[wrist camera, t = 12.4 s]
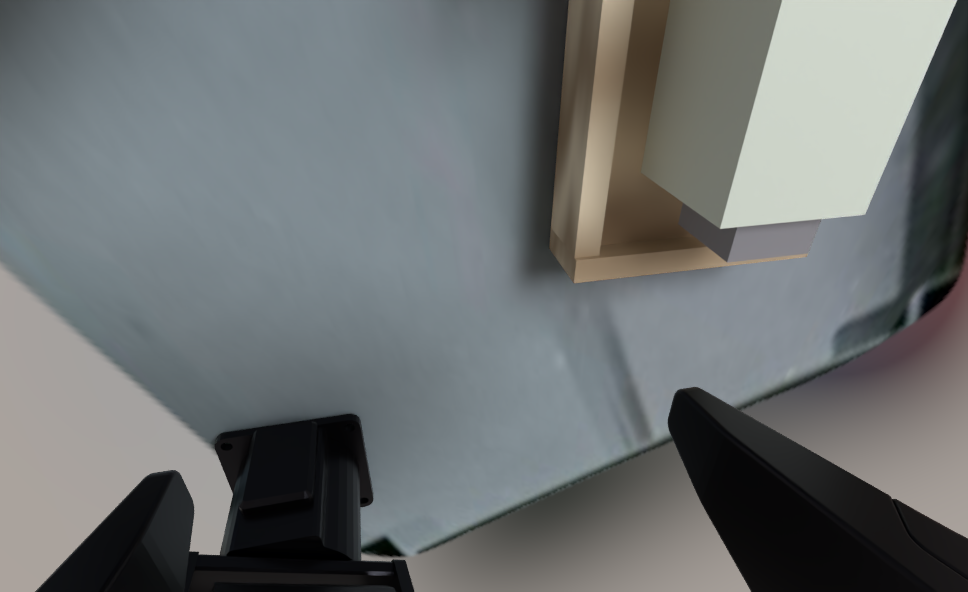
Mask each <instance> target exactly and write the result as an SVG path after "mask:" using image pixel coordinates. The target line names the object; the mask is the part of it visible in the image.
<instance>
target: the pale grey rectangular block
mask: <svg viewBox="0 0 968 592" xmlns="http://www.w3.org/2000/svg"><path fill="white" fill-rule="evenodd" d="M956 1H957V0H670V5H669V11H668V16H667V22H666V28H665V34H664V40H663V46H662V51H661V57H660V63H659V69H658V75H657V81H656V86H655V92H654V98H653V104H652V110H651V116H650V122H649V127H648V133H647V139H646V145H645V151H644V157H643V162H642V168H641V173H642V174H644V175H645V176H646V177H648V178H649V179H651V180H652V181H653V182H655V183H656V184H658V185H659V186H660V187H662V188H663V189H665V190H666V191H667V192H669V193H670V194H672V195H673V196H675V197H676V198H677V199H679V200H680V201H682V202H683V204H682V208H681V213H680V217H679V222H678V224H679V225H680V226H681V227H683V228H684V229H685V230H686V231H688V232H689V233H690V234H691V235H693V236H694V237H695V238H697V239H698V240H699V241H700V242H702V243H703V244H704V245H705V246H707V247H708V248H709V249H711V250H712V251H713V252H714V253H716V254H717V255H718V256H719V257H721V258H722V259H723V260H725V261H726V262H727V263H728V262H737V261H746V260H755V259H764V258H773V257H782V256H791V255H800V254H809V251H810V248H811V246H812V243H813V240H814V238H815V235H816V233H817V230H818V227H819V225H820V222H821V220H822V219H826V218H837V217H847V216H857V215H865V213H866V211H867V208H868V206H869V204H870V201H871V199H872V197H873V194H874V192H875V190H876V187H877V185H878V183H879V180H880V178H881V176H882V173H883V171H884V169H885V166H886V164H887V162H888V159H889V157H890V155H891V152H892V150H893V148H894V145H895V143H896V141H897V138H898V136H899V134H900V131H901V129H902V127H903V124H904V122H905V120H906V117H907V115H908V113H909V110H910V108H911V106H912V103H913V101H914V99H915V96H916V94H917V92H918V90H919V87H920V85H921V83H922V80H923V78H924V76H925V73H926V71H927V69H928V66H929V64H930V62H931V59H932V57H933V55H934V52H935V50H936V48H937V45H938V43H939V41H940V38H941V36H942V34H943V31H944V29H945V27H946V24H947V22H948V20H949V17H950V15H951V13H952V10H953V8H954V6H955V3H956Z"/></svg>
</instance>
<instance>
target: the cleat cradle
mask: <svg viewBox="0 0 968 592" xmlns="http://www.w3.org/2000/svg"><path fill="white" fill-rule="evenodd" d="M669 5H670V0H569V5H568V18H567V30H566V43H565V56H564V68H563V81H562V94H561V106H560V119H559V132H558V144H557V157H556V170H555V182H554V195H553V208H552V220H551V233H550V246H549V249H550V250H551V252H552V253H553V254H554V256H555V257H556V259H557V260H558V262H559V263H560V264H561V266H562V267H563V269H564V270H565V271H566V273H567V274H568V276H569V277H570V279H571V280H572V281H573V283H581V282H590V281H599V280H608V279H616V278H625V277H634V276H643V275H652V274H660V273H669V272H678V271H687V270H696V269H704V268H713V267H722V266H731V265H740V264H749V263H757V262H766V261H775V260H784V259H793V258H801V257H807V255H808V254H800V255H791V256H782V257H773V258H764V259H755V260H746V261H737V262H728V263H727V262H726V261H725V260H723V259H722V258H721V257H719V256H718V255H717V254H716V253H714V252H713V251H712V250H711V249H709V248H708V247H707V246H705V245H704V244H703V243H702V242H700V241H699V240H698V239H697V238H695V237H694V236H693V235H691V234H690V233H689V232H688V231H686V230H685V229H684V228H683V227H681V226H680V225H679V224H678V222H679V217H680V213H681V208H682V204H683V202H682V201H680V200H679V199H677V198H676V197H675V196H673V195H672V194H670V193H669V192H667V191H666V190H665V189H663V188H662V187H660V186H659V185H658V184H656V183H655V182H653V181H652V180H651V179H649V178H648V177H646V176H645V175H644V174H642V173H641V168H642V162H643V157H644V151H645V145H646V139H647V133H648V127H649V122H650V116H651V110H652V104H653V98H654V92H655V86H656V81H657V75H658V69H659V63H660V57H661V51H662V46H663V40H664V34H665V28H666V22H667V16H668V11H669Z"/></svg>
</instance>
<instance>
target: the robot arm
mask: <svg viewBox="0 0 968 592" xmlns="http://www.w3.org/2000/svg"><path fill="white" fill-rule="evenodd" d="M347 424H353V425H347ZM668 428H669V431H670V434H671V436H672V438H673V441H674V443H675V445H676V447H677V450H678V452H679V454H680V456H681V459H682V461H683V463H684V466H685V468H686V470H687V472H688V475H689V477H690V479H691V482H692V484H693V486H694V488H695V490H696V493H697V495H698V497H699V499H700V501H701V503H702V505H703V507H704V509H705V510H706V512H707V514H708V516H709V518H710V519H711V521H712V523H713V525H714V526H715V528H716V530H717V532H718V534H719V535H720V537H721V539H722V541H723V542H724V544H725V546H726V548H727V550H728V551H729V553H730V555H731V557H732V558H733V560H734V562H735V563H736V566H737V567H738V569H739V571H740V573H741V574H742V576H743V578H744V580H745V581H746V583H747V585H748V587H749V589H750V590H751V592H968V538H966V537H964V536H962V535H960V534H958V533H956V532H954V531H952V530H951V529H949V528H947V527H945V526H943V525H942V524H940V523H938V522H936V521H934V520H932V519H930V518H929V517H927V516H925V515H923V514H921V513H920V512H918V511H916V510H914V509H913V508H911V507H909V506H907V505H906V504H904V503H902V502H900V501H898V500H897V499H892V498H891V497H890V496H889V495H888V494H886V493H884V492H882V491H880V490H879V489H877V488H875V487H874V486H872V485H870V484H868V483H866V482H865V481H863V480H861V479H859V478H858V477H856V476H854V475H852V474H851V473H849V472H847V471H845V470H844V469H842V468H840V467H838V466H837V465H835V464H833V463H831V462H829V461H828V460H826V459H824V458H822V457H821V456H819V455H817V454H815V453H814V452H811V451H810V450H808V449H807V448H805V447H803V446H801V445H799V444H798V443H796V442H794V441H792V440H791V439H789V438H787V437H785V436H784V435H782V434H780V433H778V432H776V431H775V430H773V429H771V428H769V427H768V426H766V425H764V424H762V423H761V422H759V421H757V420H755V419H754V418H752V417H750V416H748V415H746V414H745V413H743V412H741V411H740V410H738V409H736V408H734V407H732V406H731V405H729V404H727V403H725V402H724V401H722V400H720V399H718V398H717V397H715V396H713V395H711V394H710V393H708V392H706V391H704V390H703V389H700V388H698V387H691V388H685V389H679V390H677V392H676V393H675V395H674V398H673V402H672V406H671V409H670V413H669V417H668ZM226 443H230V444H226ZM215 450H216V452H217V455H218V457H219V460H220V462H221V465H222V467H223V470H224V472H225V475H226V477H227V480H228V482H229V485H230V487H231V490H232V492H233V498H232V502H231V506H230V511H229V515H228V520H227V524H226V529H225V534H224V538H223V542H222V547H221V551H220V555H199V552H189V550H190V542H191V534H192V526H193V519H194V504H193V500H192V498H191V496H190V493H189V491H188V489H187V487H186V485H185V483H184V481H183V479H182V477H181V475H180V473H179V472H177V471H176V470H170V471H163V472H157V473H152V474H150V475H148V476H147V477H145V478H144V479H143V480H142V481H141V482H140V483H139V484H138V485H137V486H136V487H135V488H134V489H133V490H132V491H131V492H130V494H129V495H128V496H127V497H126V498H125V499H124V500H123V501H122V502H121V503H120V504H119V505H118V506H117V507H116V508H115V509H114V510H113V511H112V512H111V513H110V514H109V515H108V516H107V517H106V519H105V520H104V521H103V522H102V523H101V524H100V525H99V526H98V527H97V528H96V529H95V530H94V531H93V532H92V533H91V534H90V535H89V536H88V537H87V538H86V539H85V540H84V541H83V543H81V545H80V546H79V547H78V548H77V549H76V550H75V551H74V552H73V553H72V554H71V555H70V556H69V557H68V558H67V559H66V560H65V561H64V562H63V563H62V564H61V565H60V566H59V567H58V568H57V569H56V571H55V572H54V573H53V574H52V575H51V576H50V577H49V578H48V579H47V580H46V581H45V582H44V583H43V584H42V585H41V586H40V587H39V588H38V589H37V590H36V591H35V592H414V589H413V585H412V582H411V578H410V575H409V571H408V568H407V564H406V561H405V560H392V561H391V562H385V561H361V524H360V507H365V506H368V505H370V504H371V503H372V502H373V489H372V484H371V478H370V472H369V467H368V461H367V455H366V449H365V444H364V438H363V432H362V427H361V421H360V418H359V417H358V416H357V415H354V414H346V415H340V416H333V417H326V418H320V419H313V420H306V421H299V422H293V423H286V424H279V425H273V426H266V427H259V428H253V429H246V430H239V431H233V432H226V433H222V434H220V435H219V436H218V437H217V439H216V443H215Z"/></svg>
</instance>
